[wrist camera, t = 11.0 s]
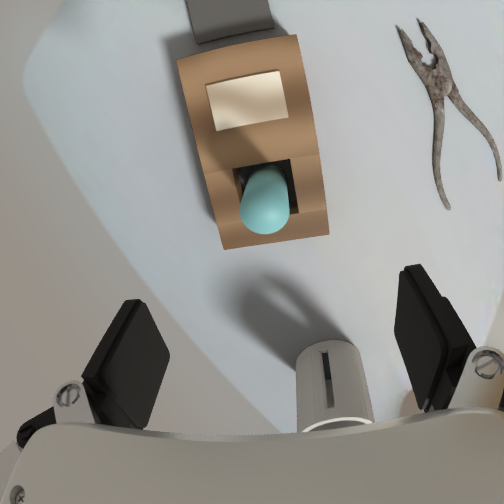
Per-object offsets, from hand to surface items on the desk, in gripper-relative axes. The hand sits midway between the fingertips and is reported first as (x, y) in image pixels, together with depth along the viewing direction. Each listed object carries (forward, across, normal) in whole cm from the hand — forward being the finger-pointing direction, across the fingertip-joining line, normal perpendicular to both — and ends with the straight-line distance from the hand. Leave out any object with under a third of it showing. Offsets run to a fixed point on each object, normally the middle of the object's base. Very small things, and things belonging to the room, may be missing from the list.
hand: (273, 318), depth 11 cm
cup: (+21, -3, +27) cm, 34 cm away
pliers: (+21, -18, -3) cm, 28 cm away
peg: (+21, +1, +1) cm, 21 cm away
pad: (+21, +1, -17) cm, 27 cm away
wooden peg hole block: (+21, +1, -3) cm, 21 cm away
